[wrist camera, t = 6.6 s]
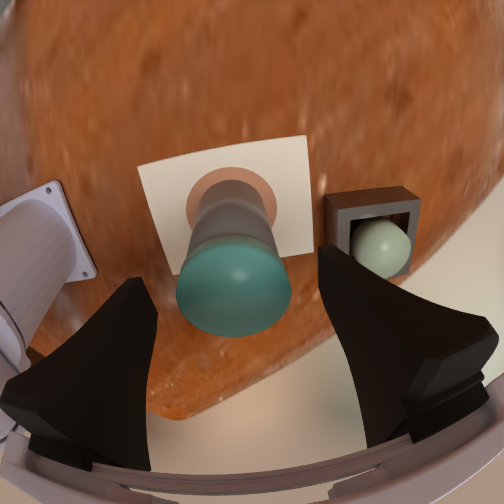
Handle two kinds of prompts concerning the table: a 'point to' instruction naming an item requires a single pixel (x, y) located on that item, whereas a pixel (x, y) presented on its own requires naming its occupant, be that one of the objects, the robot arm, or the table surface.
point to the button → (380, 246)
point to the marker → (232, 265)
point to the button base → (371, 214)
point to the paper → (233, 168)
